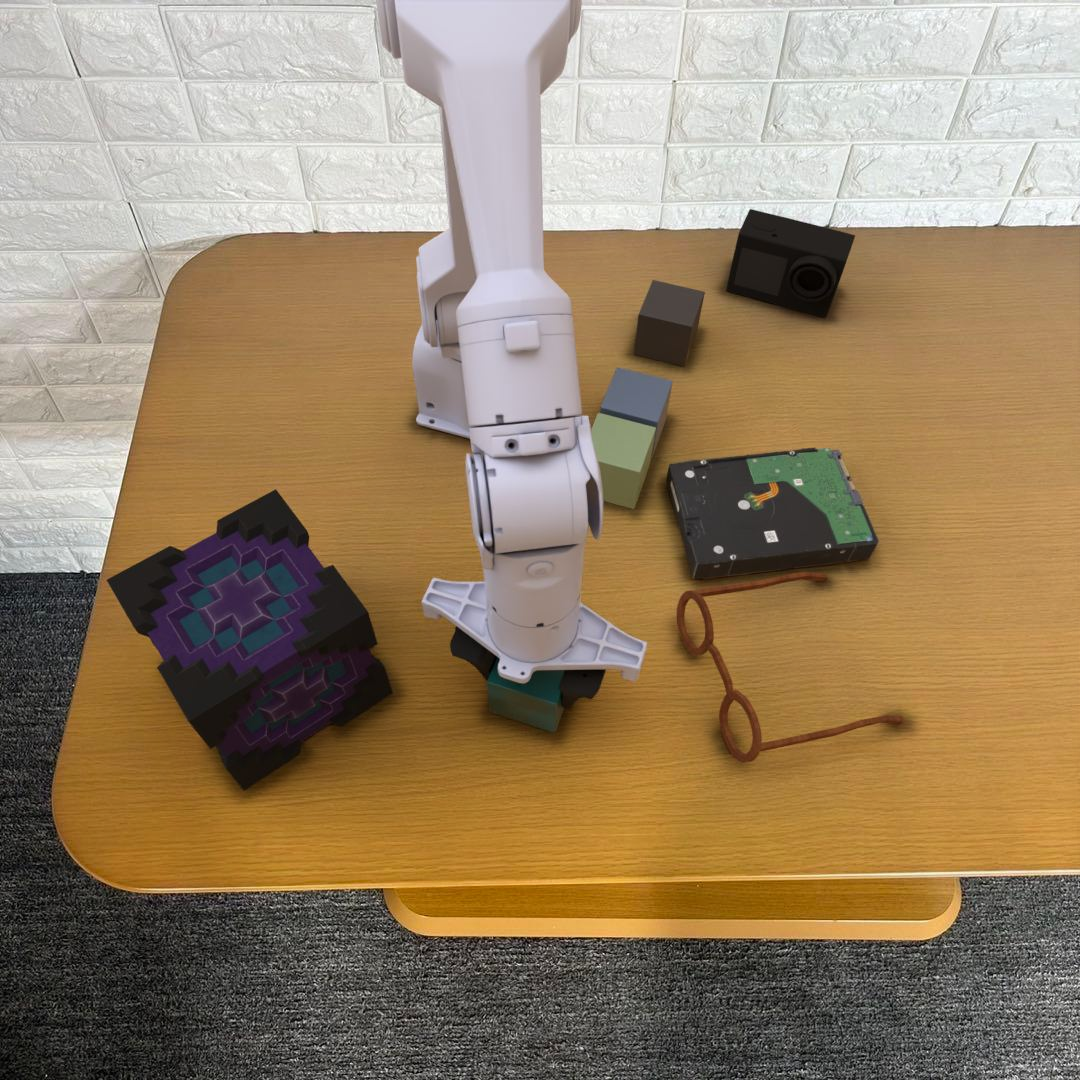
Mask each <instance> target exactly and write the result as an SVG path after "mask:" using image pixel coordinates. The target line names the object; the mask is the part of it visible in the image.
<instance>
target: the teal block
mask: <svg viewBox="0 0 1080 1080" xmlns="http://www.w3.org/2000/svg"><path fill="white" fill-rule="evenodd" d="M499 661H500V659H499V658H498V657H497V658H496V661H495V663H494V666H493V668H492V671H491V673H490V675H489V678H488V680H487V681H486V687H487V697H488V709H489V712H490V713H491V714H494V715H498V716H501V717H505V718H506V719H509V720H513V721H516V722H519V723H523V724H525V725H529V726H530V727H531V726H532V727H535V728H538V729H541V730H544V731H547V732H550V733H553V734H556V732H557V729H558V728H559V724H560V721H561V718H562V715H563V712H564V711H565V708H564V707H562V705H561V701H562V697H563V694H562V691H561V690H558V689H559V684H560V682H561V679H562V676H563V673H564V671H565V670H536V671H534V672H533V673H532V676H531V678H530V680H529V681H528V682H526V683H518V682H515V681H512V680H508V679H505V678H503V677H501V676H500V675H499V673H498V664H499Z"/></svg>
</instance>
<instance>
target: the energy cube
mask: <svg viewBox="0 0 1080 1080" xmlns="http://www.w3.org/2000/svg"><path fill="white" fill-rule="evenodd" d="M309 544H310V535H309V532H308V530H307V528H306V527H305V526H304V525H303V523H302V521H301V520H300V519H299V518H298V516H297V515H296V514H295V512H294V511H293V510H292V508H291V507H290V506H289V504H288V503H287V502H286V500H285V499H284V498H283V497H282V495H281V494H280V492H279V490H277V489H273V490H271V491H270V492H268V493H266V494H264V495H262V496H260V497H258V498H257V499H254V500H253V501H251V502H249V503H247V504H245V505H243V506H242V507H240V508H237V509H236V510H234V511H232V512H230V513H228V514H227V515H225V516H223V517H221V518H219V519H217V523H216V532H214V533H213V534H211V535H209V536H208V537H205V538H204V539H202V540H200V541H198V542H196V543H194V544H193V545H190V546H189V547H187V548H185V549H183V550H181V549H179V548H176V547H174V546H173V545H168V546H167V547H165V548H163V549H161V550H159V551H158V552H156V553H153V554H152V555H150V556H148V557H146V558H144V559H143V560H141V561H139V562H136V563H135V564H133V565H132V566H130V567H128V568H125V569H124V570H122V571H120V572H118V573H117V574H114V575H113V576H111V577H108V578H107V579H106V582H107V584H108V586H109V587H110V589H111V590H112V593H113V594H114V597H116V599H117V600H118V603H119V604H120V606H121V608H122V609H123V610H122V611H124V613H125V615H126V616H127V618H128V620H129V622H130V623H131V626H132V627H133V629H134V630H135V631H136V632H137V634H138V635H141V636H145V637H147V638H149V640H150V641H151V643H152V645H153V646H154V648H155V649H156V650H157V652H158V653H159V655H160V657H161V659H162V660H163V661H162V662H161V663H160V664H159V665H158V666H157V667H156V668H157V670H158V672H159V674H160V675H161V677H162V679H163V681H164V683H165V684H166V686H167V688H168V689H169V691H170V692H171V694H172V696H173V698H174V699H175V701H176V703H177V705H178V706H179V708H180V710H181V711H182V714H183V715H184V717H185V718H186V720H187V723H189V725H190V726H191V727H192V728H193V730H194V731H195V732H196V733H197V734H198V736H199V737H200V739H202V741H203V742H204V743H205V744H206V746H207V747H208V748H209V749H210V750H212V749H214V748H216V750H217V753H218V755H219V757H220V762H222V765H223V766H224V768H225V769H226V770H227V772H228V773H229V774H230V776H231V777H232V778H233V779H234V780H235V782H236V783H237V784H238V785H239V787H240V788H241V789H242V791H246V790H248V789H249V788H251V787H252V786H254V785H255V784H257V783H258V782H260V781H262V780H263V779H264V778H267V776H269V775H270V774H272V773H274V772H275V771H276V770H278V769H280V768H281V767H282V766H284V765H287V763H289V762H290V761H291V760H293V759H294V758H296V757H298V756H299V755H300V754H301V745H302V743H303V742H304V741H306V740H307V739H308V738H310V737H312V736H313V735H316V734H317V733H318V732H319V731H321V730H322V729H325V728H326V727H327V726H328V725H331V724H333V725H336V726H338V727H341V728H342V727H344V726H345V725H347V724H348V723H349V722H351V721H353V720H354V719H356V718H357V717H359V716H360V715H362V714H363V713H365V712H366V711H368V710H369V709H371V708H373V707H374V706H375V705H377V704H379V703H380V702H381V701H384V700H385V699H386V698H388V697H390V696H391V695H392V694H394V692H393V689H392V686H391V682H390V679H389V675H388V672H387V668H386V666H385V665H384V663H383V662H382V660H380V658H377V657H375V655H374V654H372V649H373V648H374V647H376V646H377V645H379V643H378V639H377V636H376V633H375V629H374V627H373V623H372V620H371V617H370V613H369V611H368V610H367V608H366V607H365V605H364V604H363V603H362V602H361V600H360V598H359V597H358V596H357V595H356V593H355V592H354V591H353V590H352V588H351V587H350V585H349V584H348V582H347V581H346V580H345V579H344V577H343V576H342V575H341V574H340V572H339V571H338V569H337V568H336V567H335V566H334V564H332V565H328V566H325V567H324V566H323V564H322V563H321V562H320V559H318V557H317V556H316V555H315V553H314V552H313V551H312V550H311V548H310V547H309V546H310V545H309Z"/></svg>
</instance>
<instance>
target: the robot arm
mask: <svg viewBox="0 0 1080 1080" xmlns="http://www.w3.org/2000/svg"><path fill="white" fill-rule="evenodd" d="M582 2H583V0H375V4H376V12H377V17H378V26H379V32H380V38H381V45H382V47H383V48H384V49H385V50H386V51H387V52H388V53H391V56H392V58H393V59H396V60H398V59H401V65H402V73H403V81H404V83H405V85H406V86H407V87H409V88H410V89H412V90H413V91H415V92H417V93H418V94H420V95H421V96H423V97H424V98H426V99H428V100H429V101H431V102H432V103H433V104H435V105H437V106H438V111H439V122H440V133H441V146H442V159H443V171H444V179H445V193H446V205H447V217H448V228H447V229H446V230H444V231H443V232H441V233H439V234H438V235H436V236H434V237H432V239H430V240H427V242H425V243H423V244H422V245H421V246H420V247H419V248H418V255H417V256H416V257H415V261H416V269H417V270H416V271H417V272H416V282H417V293H418V300H419V309H420V315H421V316H420V317H421V325H420V327H419V329H418V332H417V334H416V337H415V341H414V345H413V349H412V361H411V366H412V375H413V380H414V386H415V387H414V388H415V394H416V401H417V406H418V414H417V415H416V418H415V421H416V424H417V425H418V426H421V427H424V428H429V429H432V430H435V431H436V430H437V431H440V432H444V433H447V434H451V435H454V436H458V437H462V438H465V439H469V440H470V448H471V449H470V450H471V453H470V452H466V455H465V463H464V466H465V467H464V468H465V477H466V487H467V494H468V496H467V497H468V505H469V512H470V520H471V528H472V533H473V539H474V540H475V543H476V545H477V548H478V551H479V553H480V554H479V555H480V560H481V561H480V562H481V568H482V571H483V572H482V573H483V581H454V580H453V581H452V580H445V579H441V578H438V577H432V579H431V581H430V582H429V585H428V586H427V589H426V591H425V593H424V595H423V597H422V599H421V605H422V610H423V614H424V617H426V618H429V619H432V620H435V621H438V620H440V619H441V618H442V617H443V618H445V619H446V620H448V621H449V622H450V623H451V624H453V625H454V626H455V627H454V632H453V634H452V637H451V639H450V641H449V649H450V654H451V656H452V657H456V658H458V659H460V660H464V661H465V662H467V663H469V664H470V665H471V666H473V667H474V668H475V669H476V670H477V671H478V672H479V674H480V675H481V676H482V677H483V679H485V681H486V682H487V680H488V678H489V675H490V673H491V671H492V668H493V666H494V663H495V661H496V658H497V657H498V658H499V659H500V661H499V664H498V673H499V675H500V676H501V677H503V678H505V679H508V680H512V681H515V682H518V683H526V682H528V681H529V680H530V678H531V676H532V673H533V672H534V671H536V670H565V671H564V673H563V676H562V679H561V682H560V684H559V689H558V690H561V691H562V694H563V697H562V701H561V705H562V707H564V709H566V710H571V709H572V708H573V705H575V704H576V703H577V702H578V701H579V700H581V699H587V700H593V699H594V698H595V697H596V696H597V694H598V693H599V690H600V689H601V687H602V682H603V680H604V677H605V674H606V671H607V670H614V671H615V670H616V671H621V672H620V676H621V678H622V679H624V680H627V681H631V682H634V683H637V682H638V680H639V677H640V673H641V670H642V667H643V663H644V660H645V656H646V652H647V648H648V644H649V643H648V641H645V640H642V639H639V638H637V637H634V636H633V635H630V634H628V633H626V632H625V631H623V630H622V629H620V628H618V627H617V626H616V625H614V624H613V623H612V622H610V621H608V620H607V619H605V617H603V616H602V615H600V614H598V613H597V612H595V611H594V610H592V609H591V608H589V606H587V605H585V604H584V603H582V602H581V597H582V585H583V574H584V573H583V572H584V563H585V562H584V560H585V550H586V549H585V548H586V542H587V539H588V533H589V529H590V532H591V534H592V537H593V538H594V539H595V540H597V541H599V540H600V539H601V537H602V533H603V519H604V501H603V489H602V480H601V473H600V468H599V463H598V459H597V455H596V452H595V448H594V445H593V441H592V435H591V428H592V427H591V423H590V417H589V415H583V407H582V400H581V399H582V398H581V388H580V378H579V367H578V358H577V357H578V356H577V345H576V338H575V337H576V336H575V326H574V318H573V303H572V300H571V297H570V296H569V295H568V294H567V293H566V292H565V290H563V288H561V286H559V284H558V283H557V282H555V280H553V279H552V278H551V276H549V275H548V273H547V272H546V271H545V257H544V256H545V255H544V253H545V252H544V250H545V249H544V207H543V205H544V203H543V202H544V201H543V161H542V160H543V157H542V155H543V154H542V111H541V110H542V108H541V96H542V94H543V93H544V92H545V91H547V90H548V88H550V87H551V85H553V83H555V81H556V80H557V79H558V78H559V77H560V76H561V75H562V74H563V72H564V70H565V66H566V63H567V58H568V49H569V44H570V43H571V40H572V38H573V37H574V36H575V34H577V32H578V29H579V26H580V22H581V15H582V5H583V3H582ZM472 453H473V454H472Z"/></svg>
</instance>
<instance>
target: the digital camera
mask: <svg viewBox="0 0 1080 1080" xmlns="http://www.w3.org/2000/svg"><path fill="white" fill-rule="evenodd" d="M855 238H856V235H855V234H852V233H848V232H844V231H840V230H837V229H833V228H830V227H825V226H822V225H819V224H818V225H817V224H814V223H810V222H806V221H801V220H797V219H793V218H789V217H785V216H781V215H777V214H772V213H768V212H764V211H761V210H756V209H752V208H750V209H749V210H748V212H747V214H746V216H745V218H744V220H743V223H742V226H741V228H740V230H739V232H738V234H737V239H736V243H735V248H734V252H733V256H732V260H731V266H730V269H729V274H728V277H727V278H728V279H727V284H726V288H725V289H726V290H725V291H727V292H730V293H733V294H737V295H740V296H744V297H748V298H752V299H755V300H759V301H762V302H765V303H768V304H769V303H770V304H772V305H773V304H774V305H777V306H781V307H784V308H788V309H792V310H795V311H799V312H803V313H807V314H810V315H815V316H818V317H822V318H825V319H826V318H828V316H829V312H830V309H831V307H832V304H833V302H834V299H835V295H836V292H837V290H838V287H839V285H840V282H841V278H842V276H843V273H844V270H845V267H846V264H847V261H848V259H849V255H850V253H851V250H852V247H853V245H854V242H855Z"/></svg>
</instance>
